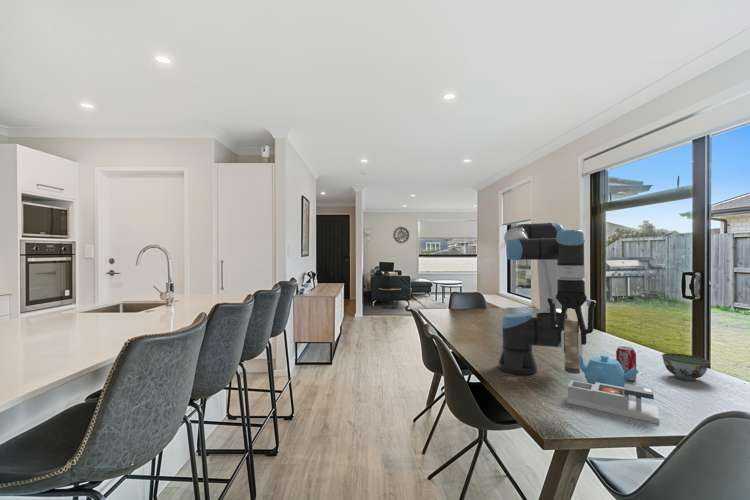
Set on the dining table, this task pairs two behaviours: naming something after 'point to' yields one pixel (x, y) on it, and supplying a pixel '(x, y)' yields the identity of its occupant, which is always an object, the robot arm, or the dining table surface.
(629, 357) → the beverage can
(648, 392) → the plate
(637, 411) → the grey slotted holder
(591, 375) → the teapot
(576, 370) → the tan banded rod
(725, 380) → the dining table surface
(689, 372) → the bowl
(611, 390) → the orange round button
